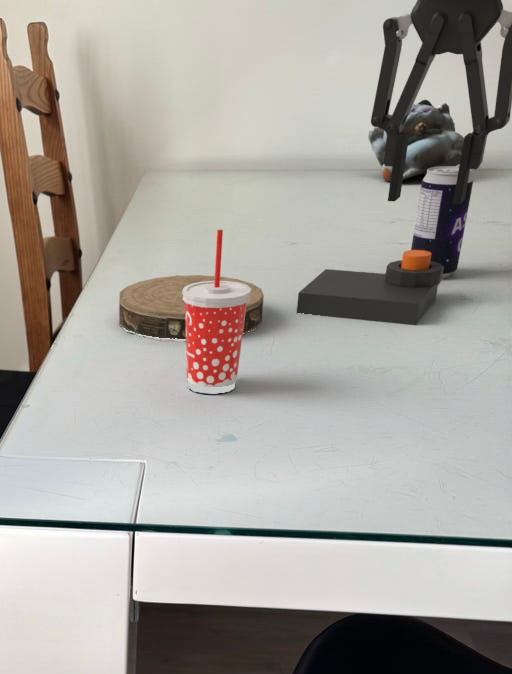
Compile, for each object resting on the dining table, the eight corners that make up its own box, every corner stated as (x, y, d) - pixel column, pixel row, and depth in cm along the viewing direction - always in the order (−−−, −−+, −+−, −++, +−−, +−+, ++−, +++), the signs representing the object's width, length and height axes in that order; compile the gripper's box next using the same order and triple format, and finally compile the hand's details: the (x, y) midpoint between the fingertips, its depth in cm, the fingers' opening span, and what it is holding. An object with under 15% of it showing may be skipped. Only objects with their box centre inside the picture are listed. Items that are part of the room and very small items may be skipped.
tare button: (431, 267, 113) (434, 250, 112) (425, 273, 111) (428, 257, 110) (403, 265, 114) (406, 249, 113) (398, 271, 112) (400, 255, 111)
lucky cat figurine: (381, 185, 172) (365, 102, 171) (378, 202, 184) (363, 124, 182) (473, 155, 168) (458, 70, 166) (464, 175, 179) (450, 95, 178)
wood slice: (130, 299, 121) (130, 274, 119) (264, 302, 117) (267, 276, 115) (107, 340, 108) (107, 312, 106) (257, 344, 104) (259, 315, 103)
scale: (441, 297, 116) (447, 261, 113) (419, 326, 107) (426, 288, 105) (325, 287, 121) (329, 253, 119) (296, 314, 113) (299, 277, 111)
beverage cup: (191, 372, 98) (197, 221, 91) (252, 379, 96) (264, 224, 88) (169, 393, 94) (174, 235, 86) (232, 401, 91) (243, 239, 84)
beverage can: (449, 283, 120) (468, 175, 114) (401, 278, 123) (417, 172, 116) (460, 272, 124) (480, 166, 118) (414, 267, 127) (430, 164, 120)
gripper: (357, -53, 97) (329, 202, 110) (573, -65, 89) (515, 212, 102) (375, -53, 103) (346, 190, 115) (581, -65, 94) (525, 198, 107)
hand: (425, 200), depth 109 cm, fingers open, 6 cm apart
